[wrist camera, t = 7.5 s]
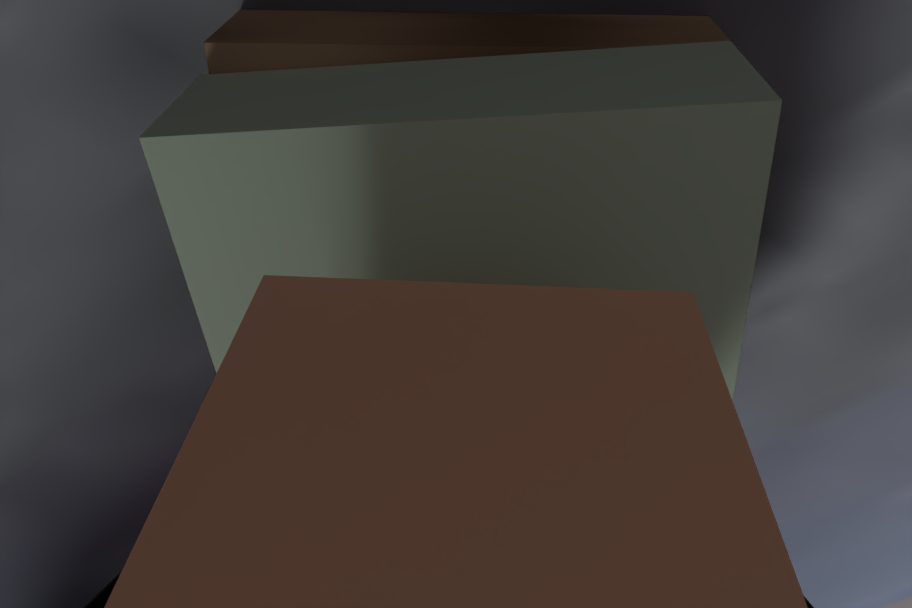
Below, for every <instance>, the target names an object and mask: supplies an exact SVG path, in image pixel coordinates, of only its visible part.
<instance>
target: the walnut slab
mask: <svg viewBox="0 0 912 608" xmlns="http://www.w3.org/2000/svg"><path fill="white" fill-rule="evenodd" d="M717 41H730V40H729V39H728V37H727V36H726V35H725V34H724V33H723V32H722V30H721V29H720V28H719V27H718V26H717V25H716V24H715V22H714V21H713V20H712V19H711V18H710V17H709V16H674V15H600V14H526V13H452V12H377V11H303V10H239V11H238V12H237V13H236V14H235V15H234V16H233V17H232V18H230V19H229V20H228V21H227V22H226V23H225V24H224V25H223V26H222V27H220V28H219V29H218V30H217V31H216V32H215V33H214V34H213V35H212V36H210V37H209V38H208V39H207V40H206V41H205V42H204V47H205V52H206V58H207V63H208V68H209V74H221V73H236V72H252V71H267V70H283V69H298V68H314V67H329V66H345V65H360V64H376V63H391V62H407V61H422V60H438V59H453V58H469V57H484V56H500V55H515V54H531V53H546V52H562V51H577V50H593V49H608V48H624V47H639V46H655V45H670V44H686V43H701V42H717Z"/></svg>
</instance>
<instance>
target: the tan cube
mask: <svg viewBox="0 0 912 608" xmlns="http://www.w3.org/2000/svg"><path fill="white" fill-rule="evenodd" d="M104 608H808V607H807V604H806V602H805V599H804V596H803V593H802V591H801V588H800V585H799V582H798V580H797V577H796V574H795V571H794V569H793V566H792V563H791V560H790V558H789V555H788V552H787V549H786V547H785V544H784V541H783V538H782V536H781V533H780V530H779V528H778V525H777V522H776V519H775V517H774V514H773V511H772V508H771V506H770V503H769V500H768V497H767V495H766V492H765V489H764V486H763V484H762V481H761V478H760V475H759V473H758V470H757V467H756V464H755V462H754V459H753V456H752V453H751V451H750V448H749V445H748V442H747V440H746V437H745V434H744V431H743V429H742V426H741V423H740V420H739V418H738V415H737V412H736V409H735V407H734V404H733V401H732V398H731V396H730V393H729V390H728V388H727V385H726V382H725V379H724V377H723V374H722V371H721V368H720V366H719V363H718V360H717V357H716V355H715V352H714V349H713V346H712V344H711V341H710V338H709V335H708V333H707V330H706V327H705V324H704V322H703V319H702V316H701V313H700V311H699V308H698V305H697V302H696V300H695V297H694V294H693V292H682V291H657V290H631V289H606V288H580V287H555V286H530V285H504V284H479V283H454V282H428V281H403V280H378V279H352V278H327V277H301V276H276V275H264V276H263V278H262V280H261V282H260V284H259V286H258V288H257V290H256V292H255V294H254V296H253V298H252V301H251V303H250V305H249V307H248V309H247V311H246V313H245V315H244V317H243V319H242V321H241V324H240V326H239V328H238V330H237V332H236V334H235V336H234V338H233V340H232V342H231V344H230V346H229V349H228V351H227V353H226V355H225V357H224V359H223V361H222V363H221V365H220V367H219V369H218V372H217V374H216V376H215V378H214V380H213V382H212V384H211V386H210V388H209V390H208V392H207V394H206V397H205V399H204V401H203V403H202V405H201V407H200V409H199V411H198V413H197V415H196V417H195V419H194V422H193V424H192V426H191V428H190V430H189V432H188V434H187V436H186V438H185V440H184V442H183V445H182V447H181V449H180V451H179V453H178V455H177V457H176V459H175V461H174V463H173V465H172V467H171V470H170V472H169V474H168V476H167V478H166V480H165V482H164V484H163V486H162V488H161V490H160V493H159V495H158V497H157V499H156V501H155V503H154V505H153V507H152V509H151V511H150V513H149V515H148V518H147V520H146V522H145V524H144V526H143V528H142V530H141V532H140V534H139V536H138V538H137V540H136V543H135V545H134V547H133V549H132V551H131V553H130V555H129V557H128V559H127V561H126V563H125V566H124V568H123V570H122V572H121V574H120V576H119V578H118V580H117V582H116V584H115V586H114V588H113V591H112V593H111V595H110V597H109V599H108V601H107V603H106V605H105V607H104Z"/></svg>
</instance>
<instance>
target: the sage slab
mask: <svg viewBox="0 0 912 608" xmlns="http://www.w3.org/2000/svg"><path fill="white" fill-rule="evenodd" d="M781 106H782V99H781V98H780V97H779V96H778V95H777V94H776V92H775V91H774V90H773V89H772V88H771V87H770V86H769V84H768V83H767V82H766V81H765V80H764V79H763V78H762V76H761V75H760V74H759V73H758V72H757V71H756V69H755V68H754V67H753V66H752V65H751V64H750V63H749V61H748V60H747V59H746V58H745V57H744V56H743V55H742V53H741V52H740V51H739V50H738V49H737V48H736V47H735V45H734V44H733V43H732V42H731V41H717V42H701V43H686V44H670V45H655V46H639V47H624V48H608V49H593V50H577V51H562V52H546V53H531V54H515V55H500V56H484V57H469V58H453V59H438V60H422V61H407V62H391V63H376V64H360V65H345V66H329V67H314V68H298V69H283V70H267V71H252V72H236V73H221V74H205V75H200V76H199V77H198V78H197V79H196V80H195V81H194V82H193V83H192V84H191V85H190V86H189V87H188V88H187V89H186V90H185V91H184V92H183V94H182V95H181V96H180V97H179V98H178V99H177V100H176V101H175V102H174V103H173V104H172V105H171V106H170V107H169V108H168V109H167V110H166V111H165V112H164V113H163V114H162V115H161V116H160V117H159V118H158V119H157V120H156V121H155V122H154V123H153V124H152V125H151V126H150V127H149V128H148V129H147V130H146V131H145V132H144V133H143V134H142V135H141V136H140V137H139V139H140V142H141V145H142V148H143V151H144V154H145V157H146V160H147V163H148V167H149V170H150V173H151V176H152V179H153V182H154V185H155V188H156V191H157V194H158V197H159V200H160V203H161V206H162V209H163V212H164V215H165V218H166V221H167V224H168V228H169V231H170V234H171V237H172V240H173V243H174V246H175V249H176V252H177V255H178V258H179V261H180V264H181V267H182V270H183V273H184V276H185V279H186V282H187V285H188V289H189V292H190V295H191V298H192V301H193V304H194V307H195V310H196V313H197V316H198V319H199V322H200V325H201V328H202V331H203V334H204V337H205V340H206V343H207V346H208V350H209V353H210V356H211V359H212V362H213V365H214V368H215V371H216V374H217V372H218V369H219V367H220V365H221V363H222V361H223V359H224V357H225V355H226V353H227V351H228V349H229V346H230V344H231V342H232V340H233V338H234V336H235V334H236V332H237V330H238V328H239V326H240V324H241V321H242V319H243V317H244V315H245V313H246V311H247V309H248V307H249V305H250V303H251V301H252V298H253V296H254V294H255V292H256V290H257V288H258V286H259V284H260V282H261V280H262V278H263V276H264V275H276V276H301V277H327V278H352V279H378V280H403V281H428V282H454V283H479V284H504V285H530V286H555V287H580V288H606V289H631V290H657V291H682V292H693V294H694V297H695V300H696V302H697V305H698V308H699V311H700V313H701V316H702V319H703V322H704V324H705V327H706V330H707V333H708V335H709V338H710V341H711V344H712V346H713V349H714V352H715V355H716V357H717V360H718V363H719V366H720V368H721V371H722V374H723V377H724V379H725V382H726V385H727V388H728V390H729V393H730V396H731V398H732V400H733V394H734V388H735V382H736V376H737V370H738V364H739V358H740V352H741V346H742V340H743V334H744V328H745V322H746V316H747V310H748V304H749V298H750V292H751V286H752V280H753V274H754V268H755V262H756V256H757V250H758V244H759V238H760V232H761V226H762V220H763V214H764V208H765V202H766V196H767V190H768V184H769V178H770V172H771V166H772V160H773V154H774V148H775V142H776V136H777V130H778V124H779V118H780V112H781Z"/></svg>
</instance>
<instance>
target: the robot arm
mask: <svg viewBox="0 0 912 608" xmlns="http://www.w3.org/2000/svg"><path fill="white" fill-rule="evenodd" d="M121 572H122V571H121ZM121 572H120V573H119V574H118V575H117V576H116V577H115V578H114V579H113V580H112V581H111V582H110V583H109V584H108V585H107V586H106V587H105V588H104V589H103V590H101V591H100V592H99V593H98V594H97V595H96V596H95V597H94V598H93V599H92V600H91V601H90V602H89V603H88V604H87V605H86V606H85V607H84V608H104V607H105V605H106V603H107V601H108V599H109V597H110V595H111V593H112V591H113V588H114V586H115V584H116V582H117V580H118V578H119V576H120V574H121ZM804 599H805V602H806V604H807V607H808V608H814V607H813V606H812V605H811V604H810V603H809V601H808V600H807V599H806V598H805V597H804Z"/></svg>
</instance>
